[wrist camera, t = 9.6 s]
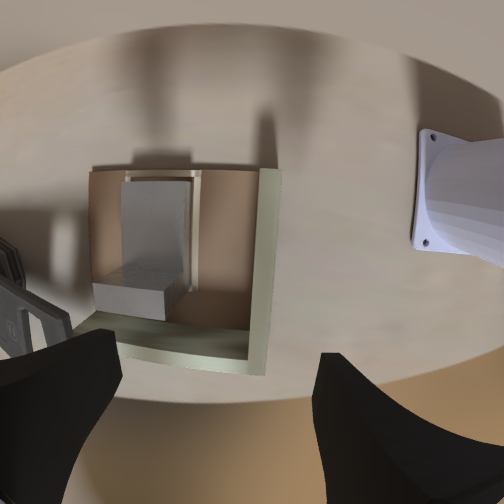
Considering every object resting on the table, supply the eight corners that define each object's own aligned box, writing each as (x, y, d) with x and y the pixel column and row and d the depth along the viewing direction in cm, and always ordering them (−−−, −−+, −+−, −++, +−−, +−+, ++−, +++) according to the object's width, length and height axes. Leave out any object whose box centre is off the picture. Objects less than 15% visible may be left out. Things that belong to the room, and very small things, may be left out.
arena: (278, 173, 17) (281, 169, 13) (265, 342, 19) (264, 375, 15) (92, 171, 17) (57, 171, 13) (100, 320, 20) (74, 344, 16)
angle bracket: (190, 287, 18) (165, 320, 13) (133, 281, 18) (95, 310, 13) (192, 181, 17) (163, 179, 12) (132, 181, 17) (88, 181, 12)
